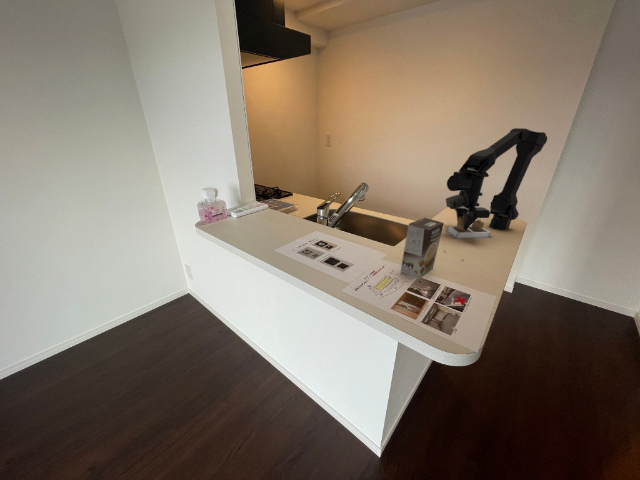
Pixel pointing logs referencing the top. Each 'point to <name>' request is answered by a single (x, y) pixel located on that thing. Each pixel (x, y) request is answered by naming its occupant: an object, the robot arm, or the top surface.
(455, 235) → the housing
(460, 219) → the brown cylinder
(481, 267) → the top surface
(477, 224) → the brown housed cylinder
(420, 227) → the coffee box
